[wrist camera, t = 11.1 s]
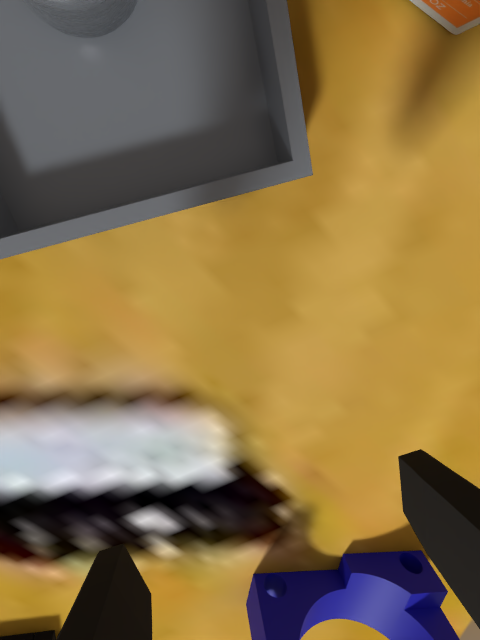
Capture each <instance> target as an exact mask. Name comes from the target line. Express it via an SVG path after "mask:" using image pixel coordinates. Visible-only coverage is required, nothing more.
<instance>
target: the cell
mask: <svg viewBox="0 0 480 640" xmlns="http://www.w3.org/2000/svg"><path fill="white" fill-rule="evenodd" d="M24 2H25V3H26V4H27V5H28V6H29V7H30V8H31V10H32V11H33V12H34V13H35V14H36V15H37V16H38V17H40V18H41V19H42V20H43V21H44V22H46V23H47V24H48V25H50V26H52V27H53V28H55V29H57V30H59V31H61V32H63V33H66V34H69V35H72V36H76V37H83V38H93V37H99V36H103V35H106V34H109V33H110V32H112V31H114V30H116V29H117V28H118V27H120V26H121V25H122V24H123V23H124V22H125V21H126V20H127V19H128V18H129V16H130V15H131V13H132V12H133V10H134V8H135V6H136V4H137V2H138V0H24Z"/></svg>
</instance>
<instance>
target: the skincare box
mask: <svg viewBox="0 0 480 640" xmlns="http://www.w3.org/2000/svg"><path fill="white" fill-rule="evenodd" d="M410 1H411V2H412V3H413V4H415V5H416V6H417V7H419V8H420V9H421V10H423V11H424V12H425V13H426V14H428V15H429V16H430V17H432V18H433V19H434V20H436V21H437V22H438V23H439V24H441V25H442V26H443V27H445V28H446V29H447V30H448V31H449V32H451V33H452V34H455V35H457V34H460V33H462V32H464V31H466V30H468V29H470V28H472V27H475V26H477V25H479V24H480V0H410Z"/></svg>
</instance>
